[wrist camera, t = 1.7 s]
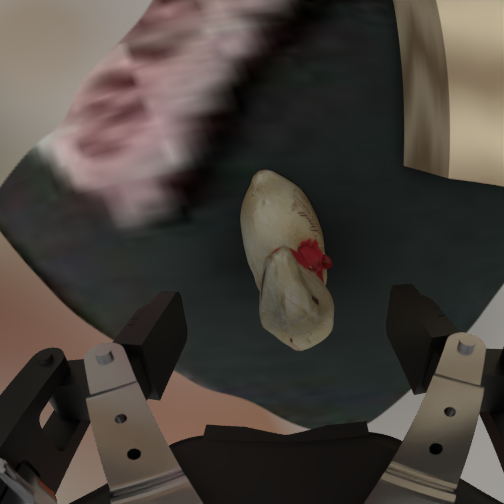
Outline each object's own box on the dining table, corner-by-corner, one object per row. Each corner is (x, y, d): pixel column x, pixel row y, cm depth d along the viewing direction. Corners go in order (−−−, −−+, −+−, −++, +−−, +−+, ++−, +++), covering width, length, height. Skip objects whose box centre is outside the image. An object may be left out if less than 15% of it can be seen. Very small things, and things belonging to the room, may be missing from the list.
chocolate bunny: (234, 285, 21) (200, 393, 11) (247, 166, 18) (210, 194, 9) (315, 296, 20) (335, 409, 11) (338, 180, 18) (398, 223, 8)
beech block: (391, -3, 13) (424, -42, 7) (518, 42, 12) (564, 31, 6) (402, 165, 17) (448, 178, 12) (525, 183, 16) (575, 201, 10)
